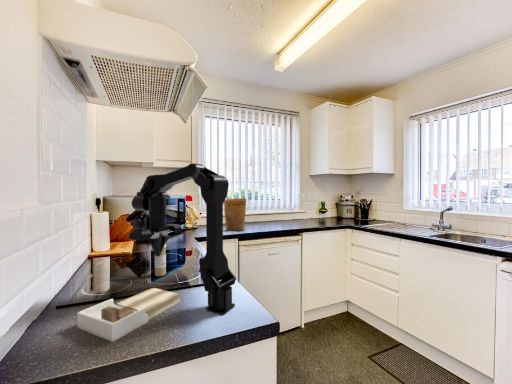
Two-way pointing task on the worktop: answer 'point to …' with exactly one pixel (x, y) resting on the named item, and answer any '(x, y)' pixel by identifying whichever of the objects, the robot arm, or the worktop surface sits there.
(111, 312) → the walnut tile
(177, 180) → the robot arm
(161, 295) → the birch plate
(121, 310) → the walnut tile
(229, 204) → the pancake mix bag
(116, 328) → the box
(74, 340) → the worktop surface
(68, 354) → the worktop surface
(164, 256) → the sprinkles bottle
